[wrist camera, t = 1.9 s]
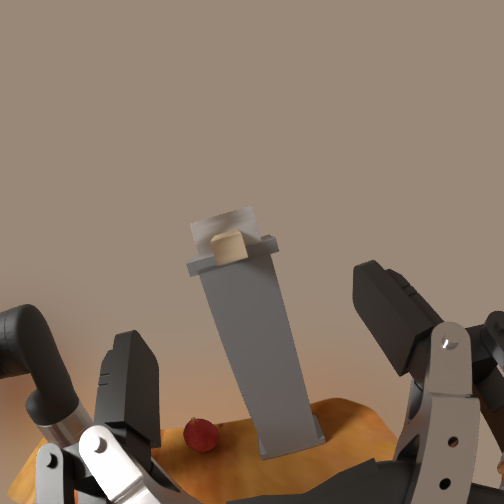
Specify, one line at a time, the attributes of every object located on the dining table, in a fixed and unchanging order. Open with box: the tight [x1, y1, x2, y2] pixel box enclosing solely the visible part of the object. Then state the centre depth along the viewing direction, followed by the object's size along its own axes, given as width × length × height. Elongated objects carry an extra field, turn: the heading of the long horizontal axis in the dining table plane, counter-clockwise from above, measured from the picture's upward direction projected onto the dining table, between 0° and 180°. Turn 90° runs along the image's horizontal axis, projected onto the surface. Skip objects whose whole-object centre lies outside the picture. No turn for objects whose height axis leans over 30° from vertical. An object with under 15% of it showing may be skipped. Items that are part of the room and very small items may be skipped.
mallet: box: [190, 206, 262, 266], centre depth 29 cm, size 7×14×4 cm, turn 6°
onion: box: [183, 417, 219, 452], centre depth 39 cm, size 6×6×8 cm
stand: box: [186, 235, 326, 460], centre depth 35 cm, size 10×6×32 cm, turn 94°
